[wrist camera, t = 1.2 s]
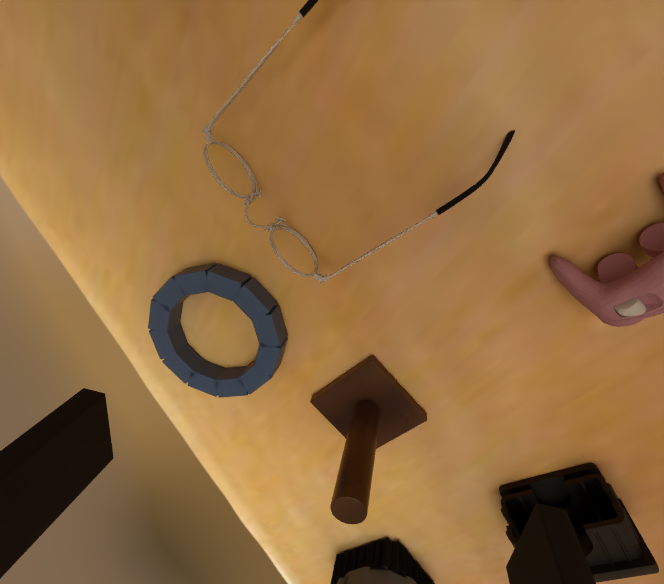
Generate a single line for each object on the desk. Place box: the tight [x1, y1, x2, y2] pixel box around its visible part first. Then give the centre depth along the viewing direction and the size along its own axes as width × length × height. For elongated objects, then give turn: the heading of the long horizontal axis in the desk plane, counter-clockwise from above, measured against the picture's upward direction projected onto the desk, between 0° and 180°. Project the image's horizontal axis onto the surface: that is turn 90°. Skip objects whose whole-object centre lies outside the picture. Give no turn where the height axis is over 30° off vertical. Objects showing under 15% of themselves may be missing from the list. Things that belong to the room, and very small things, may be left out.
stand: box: [310, 355, 427, 524], centre depth 33 cm, size 8×8×12 cm
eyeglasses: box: [203, 0, 515, 283], centre depth 27 cm, size 16×19×5 cm
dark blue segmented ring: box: [148, 263, 288, 397], centre depth 37 cm, size 13×13×2 cm
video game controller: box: [549, 174, 664, 327], centre depth 26 cm, size 10×5×7 cm, turn 137°
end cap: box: [499, 463, 659, 583], centre depth 35 cm, size 10×7×7 cm
